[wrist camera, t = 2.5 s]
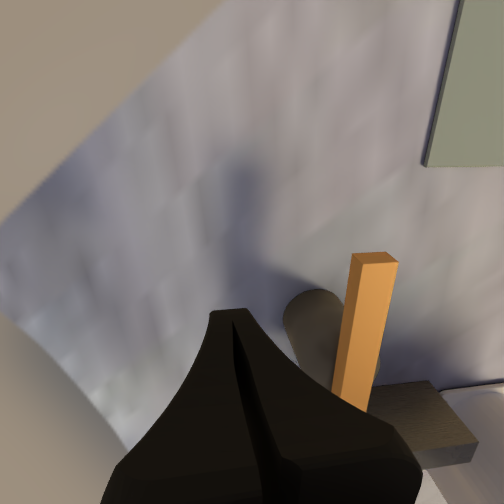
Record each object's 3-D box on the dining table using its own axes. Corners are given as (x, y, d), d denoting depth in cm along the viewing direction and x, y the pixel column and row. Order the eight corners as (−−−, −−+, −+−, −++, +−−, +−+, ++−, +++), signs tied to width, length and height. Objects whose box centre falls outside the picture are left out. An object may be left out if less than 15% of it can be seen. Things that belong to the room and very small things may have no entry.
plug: (338, 337, 23) (373, 396, 18) (281, 342, 22) (303, 404, 18) (345, 287, 21) (386, 337, 17) (284, 291, 21) (309, 344, 16)
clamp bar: (339, 486, 21) (345, 504, 20) (316, 490, 21) (321, 508, 20) (385, 251, 14) (398, 262, 13) (352, 253, 14) (363, 264, 13)
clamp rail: (422, 399, 27) (470, 462, 22) (263, 419, 25) (279, 492, 20) (428, 380, 26) (479, 442, 21) (264, 399, 24) (281, 471, 20)
